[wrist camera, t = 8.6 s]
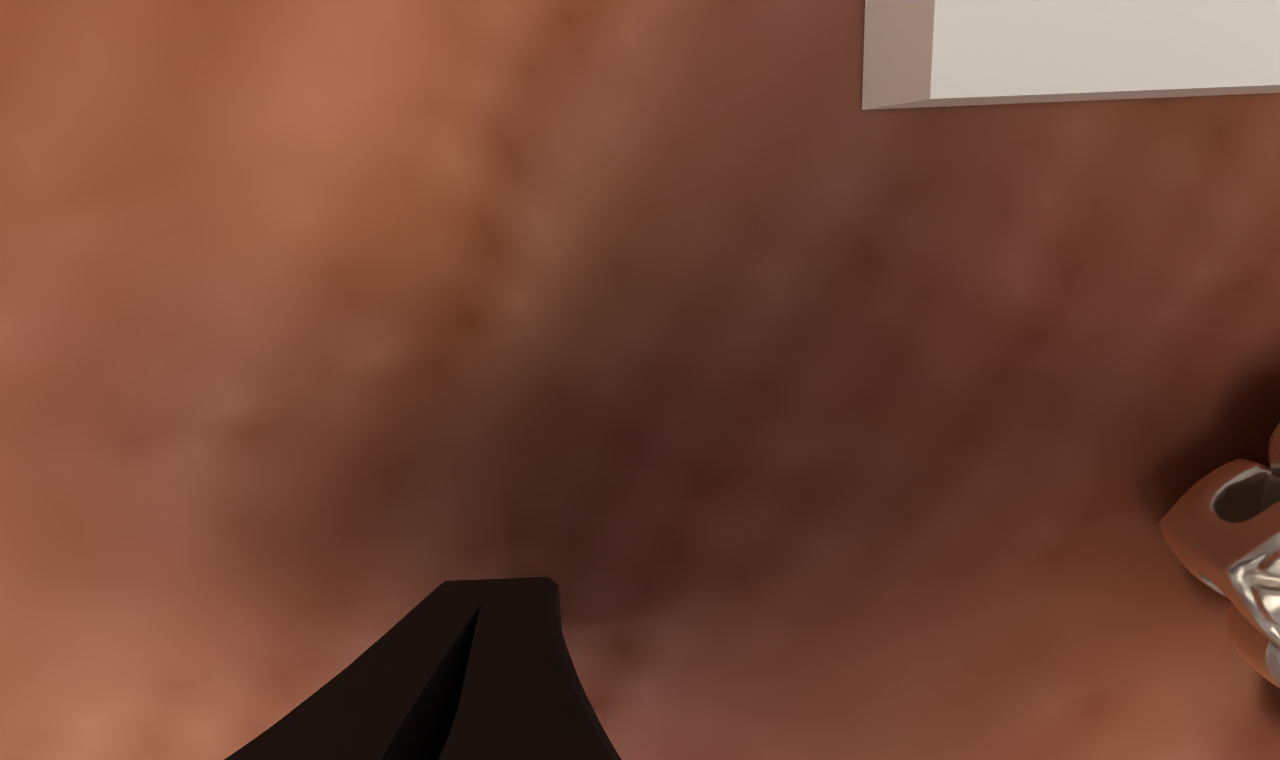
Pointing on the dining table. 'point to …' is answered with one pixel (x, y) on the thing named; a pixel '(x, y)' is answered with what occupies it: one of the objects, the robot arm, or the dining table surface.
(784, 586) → the dining table surface
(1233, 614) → the ornament
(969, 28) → the u-shaped frame
